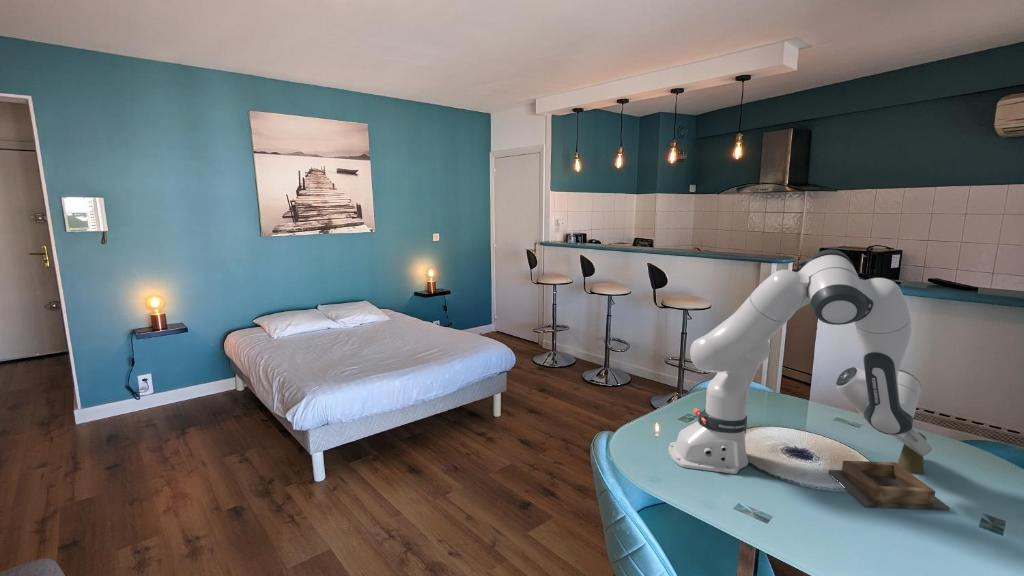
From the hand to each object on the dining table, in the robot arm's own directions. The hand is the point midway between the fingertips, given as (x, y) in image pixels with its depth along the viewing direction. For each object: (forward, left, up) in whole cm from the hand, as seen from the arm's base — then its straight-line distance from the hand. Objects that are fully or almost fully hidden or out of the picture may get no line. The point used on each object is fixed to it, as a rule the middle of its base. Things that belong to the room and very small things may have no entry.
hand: (915, 448), depth 138 cm
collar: (-16, -12, -6) cm, 21 cm away
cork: (-1, 0, -7) cm, 7 cm away
